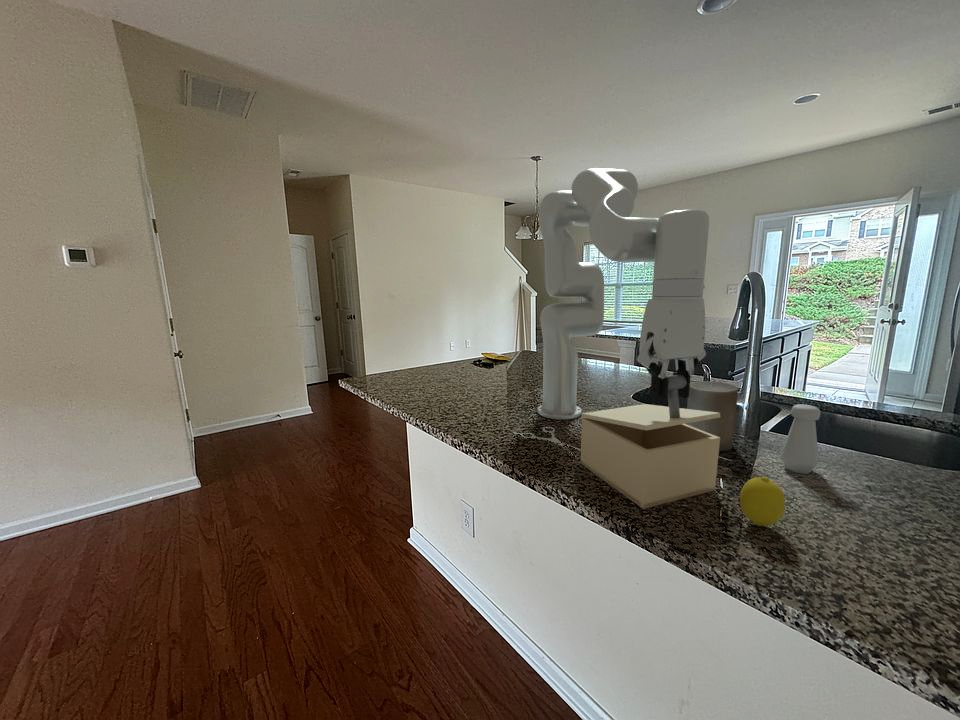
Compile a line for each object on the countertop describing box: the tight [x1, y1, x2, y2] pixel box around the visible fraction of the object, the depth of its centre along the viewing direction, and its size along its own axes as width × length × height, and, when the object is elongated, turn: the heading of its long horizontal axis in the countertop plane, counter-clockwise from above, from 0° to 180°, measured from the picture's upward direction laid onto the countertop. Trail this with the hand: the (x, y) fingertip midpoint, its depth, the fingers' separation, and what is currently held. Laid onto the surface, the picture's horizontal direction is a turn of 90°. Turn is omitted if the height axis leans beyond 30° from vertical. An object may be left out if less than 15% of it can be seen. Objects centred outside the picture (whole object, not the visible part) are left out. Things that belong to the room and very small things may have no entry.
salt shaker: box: [780, 403, 821, 475], centre depth 76 cm, size 6×6×13 cm
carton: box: [580, 417, 720, 510], centre depth 74 cm, size 18×16×10 cm
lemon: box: [739, 476, 786, 527], centre depth 59 cm, size 6×6×8 cm
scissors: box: [512, 426, 581, 458], centre depth 93 cm, size 11×1×20 cm
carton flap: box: [581, 374, 720, 430], centre depth 73 cm, size 18×16×8 cm
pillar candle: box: [686, 380, 739, 452], centre depth 89 cm, size 10×10×15 cm
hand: (669, 396), depth 68 cm, fingers closed on carton flap, 4 cm apart
